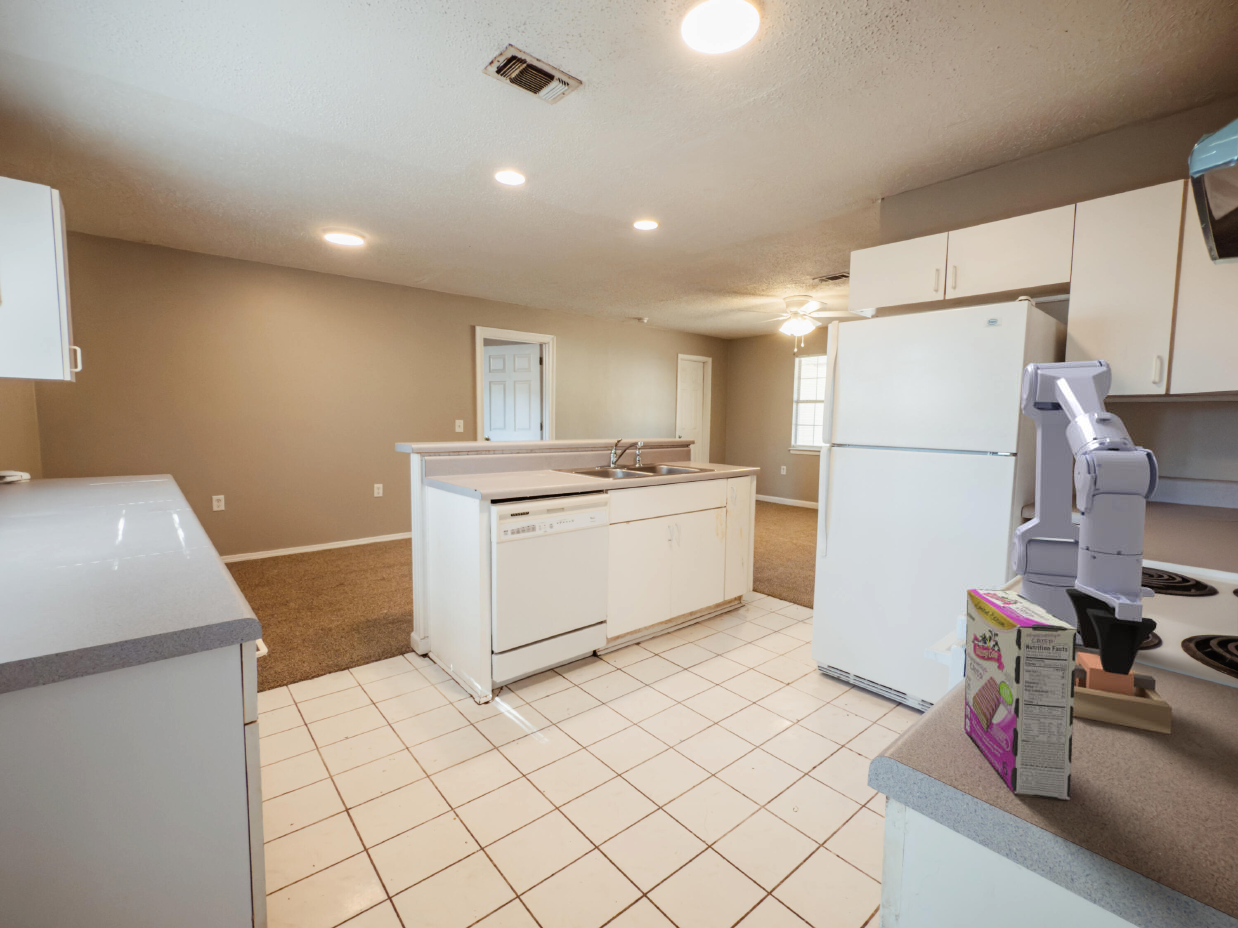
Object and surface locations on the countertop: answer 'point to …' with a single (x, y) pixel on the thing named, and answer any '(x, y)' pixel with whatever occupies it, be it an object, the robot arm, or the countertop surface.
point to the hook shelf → (1124, 704)
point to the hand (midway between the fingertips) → (1104, 659)
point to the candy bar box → (1020, 691)
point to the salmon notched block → (1103, 676)
